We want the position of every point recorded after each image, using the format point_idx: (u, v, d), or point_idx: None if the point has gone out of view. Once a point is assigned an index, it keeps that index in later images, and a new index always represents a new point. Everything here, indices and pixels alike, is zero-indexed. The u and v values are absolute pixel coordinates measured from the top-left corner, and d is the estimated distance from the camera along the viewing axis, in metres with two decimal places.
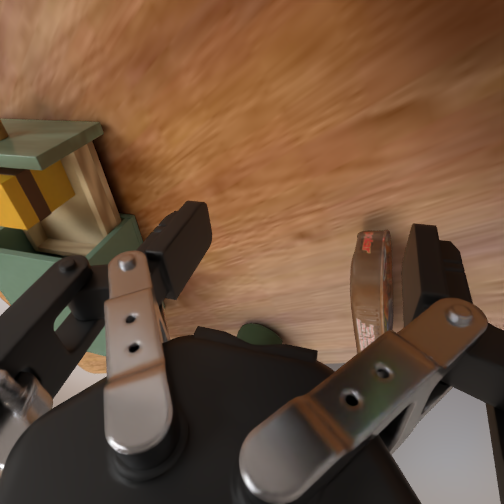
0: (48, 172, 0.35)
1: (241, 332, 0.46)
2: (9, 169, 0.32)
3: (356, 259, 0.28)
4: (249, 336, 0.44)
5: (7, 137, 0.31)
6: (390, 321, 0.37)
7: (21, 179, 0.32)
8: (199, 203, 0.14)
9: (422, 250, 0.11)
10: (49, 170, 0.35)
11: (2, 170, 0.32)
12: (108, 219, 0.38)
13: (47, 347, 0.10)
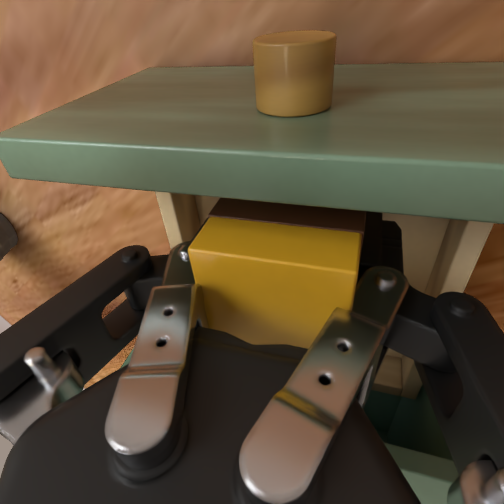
0: None
1: None
2: (307, 207, 0.10)
3: None
4: None
5: (332, 103, 0.09)
6: None
7: None
8: None
9: (365, 227, 0.12)
10: None
11: (282, 208, 0.10)
12: None
13: (92, 332, 0.10)
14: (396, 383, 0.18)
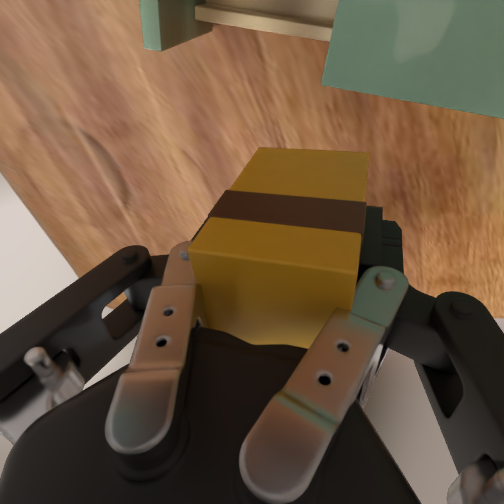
0: None
1: None
2: (306, 207, 0.10)
3: None
4: None
5: None
6: None
7: None
8: None
9: (365, 227, 0.12)
10: None
11: (282, 209, 0.10)
12: None
13: (92, 332, 0.10)
14: None
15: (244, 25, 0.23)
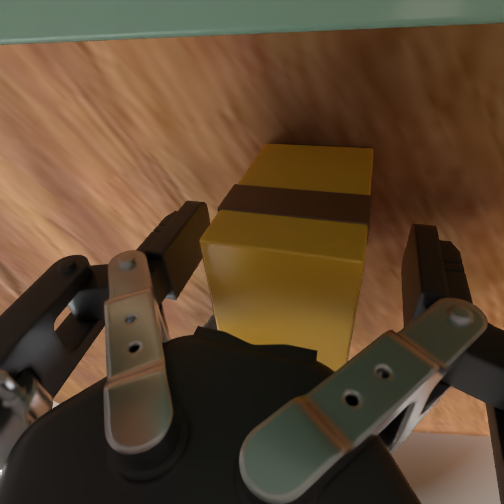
0: None
1: None
2: (314, 200, 0.10)
3: None
4: None
5: None
6: None
7: None
8: (199, 203, 0.14)
9: (422, 250, 0.11)
10: None
11: (290, 202, 0.11)
12: None
13: (47, 347, 0.10)
14: None
15: None
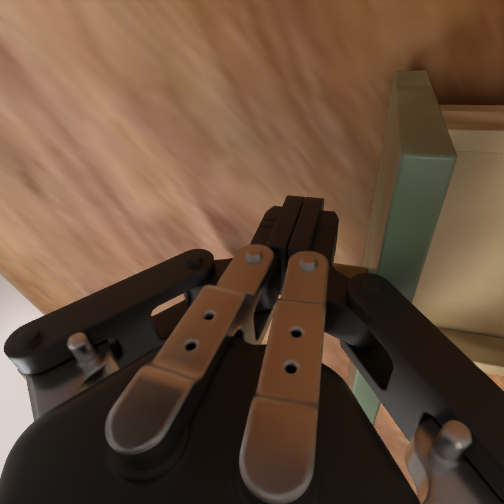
0: None
1: None
2: None
3: None
4: None
5: (368, 269, 0.14)
6: None
7: None
8: (301, 198, 0.13)
9: (302, 217, 0.12)
10: None
11: None
12: None
13: (138, 328, 0.10)
14: None
15: None
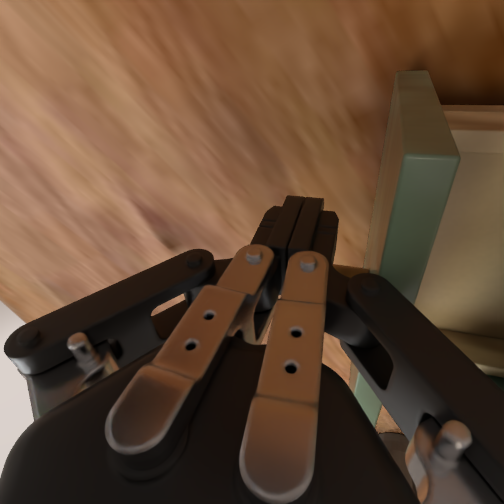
0: None
1: None
2: None
3: None
4: None
5: (369, 270, 0.14)
6: None
7: None
8: (301, 198, 0.13)
9: (302, 217, 0.12)
10: None
11: None
12: None
13: (139, 328, 0.10)
14: None
15: None
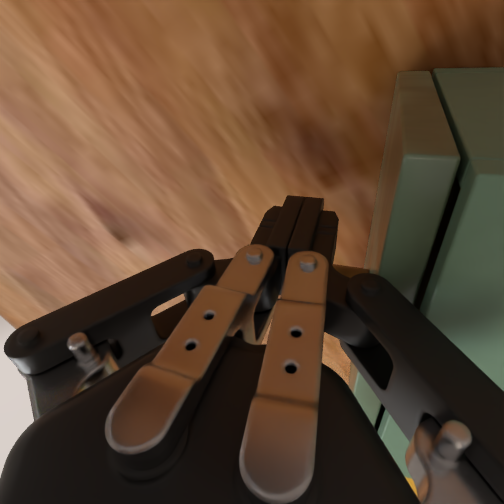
0: None
1: None
2: None
3: None
4: None
5: (369, 270, 0.14)
6: None
7: None
8: (301, 198, 0.13)
9: (302, 217, 0.12)
10: None
11: None
12: None
13: (139, 328, 0.10)
14: None
15: None
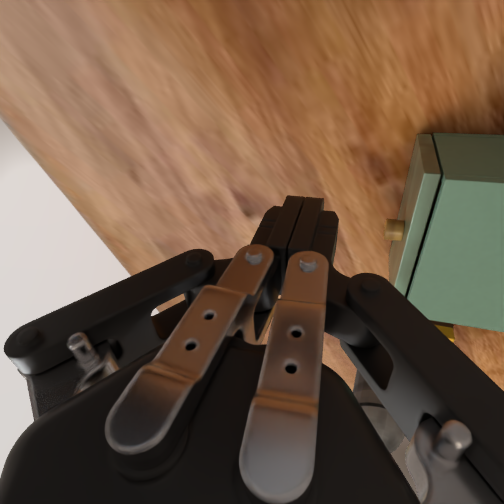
0: None
1: None
2: None
3: None
4: None
5: (404, 220, 0.33)
6: None
7: None
8: (301, 198, 0.13)
9: (302, 217, 0.12)
10: None
11: None
12: None
13: (138, 328, 0.10)
14: None
15: None
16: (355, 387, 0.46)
